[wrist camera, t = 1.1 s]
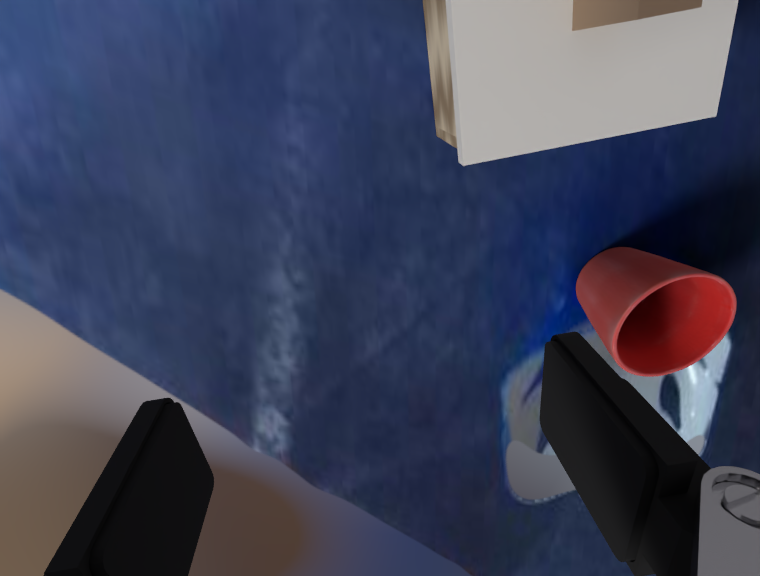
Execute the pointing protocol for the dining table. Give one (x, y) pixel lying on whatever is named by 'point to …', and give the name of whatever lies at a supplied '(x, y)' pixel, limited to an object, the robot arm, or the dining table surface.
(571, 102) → the lid
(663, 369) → the flower pot
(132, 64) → the dining table surface
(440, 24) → the box
